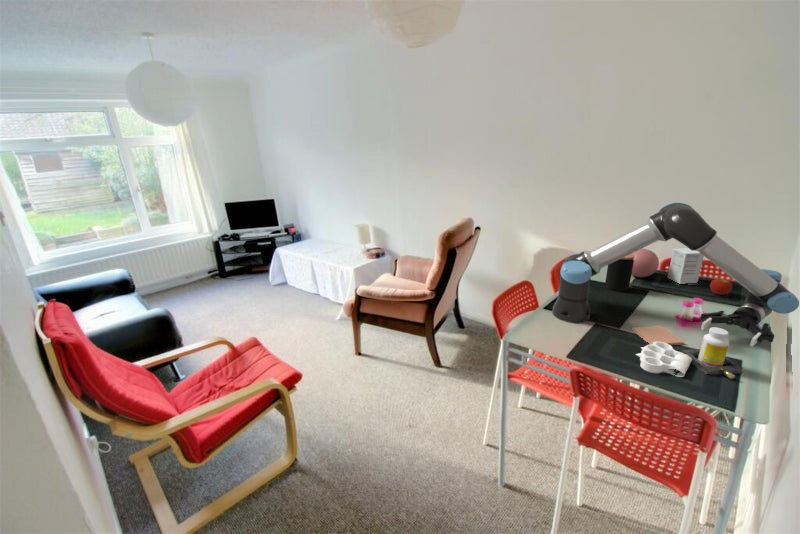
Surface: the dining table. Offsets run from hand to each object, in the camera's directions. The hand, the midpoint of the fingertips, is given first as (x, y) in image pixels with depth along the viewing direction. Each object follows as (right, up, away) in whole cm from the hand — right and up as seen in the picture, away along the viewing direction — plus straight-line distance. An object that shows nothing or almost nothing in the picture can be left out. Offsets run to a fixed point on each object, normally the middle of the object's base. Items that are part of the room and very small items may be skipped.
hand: (726, 334), depth 125 cm
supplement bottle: (-8, -10, -2) cm, 13 cm away
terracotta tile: (-14, -4, +15) cm, 21 cm away
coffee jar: (-3, +13, +59) cm, 60 cm away
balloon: (+15, +19, +73) cm, 77 cm away
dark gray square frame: (-8, -10, -3) cm, 13 cm away
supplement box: (+33, +16, +62) cm, 72 cm away
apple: (+38, +10, +46) cm, 61 cm away
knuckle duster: (-23, -10, 0) cm, 25 cm away
